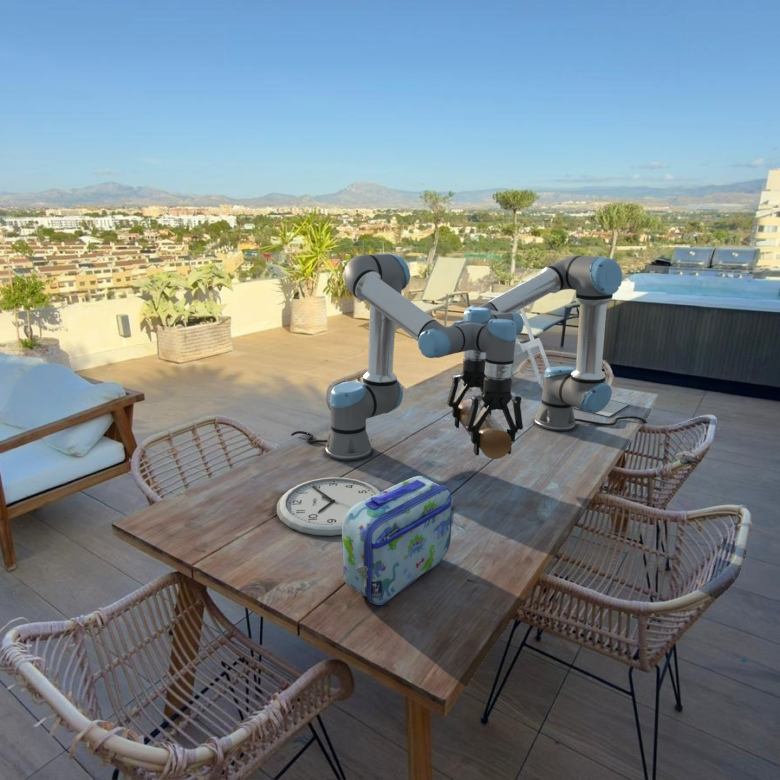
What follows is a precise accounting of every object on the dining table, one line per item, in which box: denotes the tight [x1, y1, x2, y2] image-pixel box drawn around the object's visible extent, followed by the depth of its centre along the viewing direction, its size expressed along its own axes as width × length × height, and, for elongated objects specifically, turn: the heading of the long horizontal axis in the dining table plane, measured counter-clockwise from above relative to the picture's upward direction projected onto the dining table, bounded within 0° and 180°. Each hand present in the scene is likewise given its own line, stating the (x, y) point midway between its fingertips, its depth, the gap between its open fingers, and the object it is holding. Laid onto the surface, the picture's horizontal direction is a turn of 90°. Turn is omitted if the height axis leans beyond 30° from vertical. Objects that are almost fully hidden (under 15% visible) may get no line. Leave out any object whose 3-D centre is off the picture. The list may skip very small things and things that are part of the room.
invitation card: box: [573, 400, 629, 418], centre depth 226 cm, size 21×1×15 cm
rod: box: [458, 398, 513, 460], centre depth 158 cm, size 27×9×9 cm, turn 8°
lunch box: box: [341, 475, 453, 606], centre depth 111 cm, size 26×11×21 cm, turn 134°
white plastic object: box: [513, 307, 551, 390], centre depth 259 cm, size 37×45×31 cm
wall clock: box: [276, 476, 382, 537], centre depth 142 cm, size 30×2×30 cm
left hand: (491, 452), depth 149 cm, fingers closed on rod, 9 cm apart
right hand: (470, 426), depth 169 cm, fingers closed on rod, 9 cm apart
